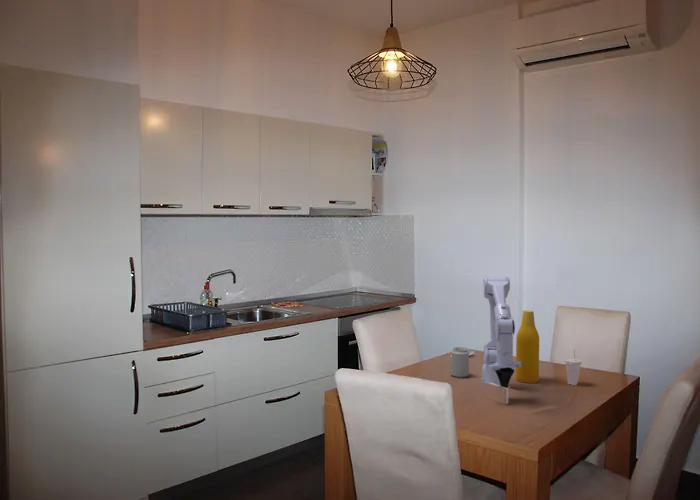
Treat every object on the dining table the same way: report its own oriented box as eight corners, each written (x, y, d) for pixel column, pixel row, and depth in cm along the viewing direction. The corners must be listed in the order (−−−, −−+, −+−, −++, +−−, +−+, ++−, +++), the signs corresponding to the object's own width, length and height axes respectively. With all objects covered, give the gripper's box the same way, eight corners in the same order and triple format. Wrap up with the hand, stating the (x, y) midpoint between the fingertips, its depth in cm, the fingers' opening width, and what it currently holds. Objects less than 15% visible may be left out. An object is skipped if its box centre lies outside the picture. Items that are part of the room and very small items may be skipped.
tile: (486, 399, 213) (487, 383, 212) (490, 398, 214) (490, 382, 213) (504, 405, 205) (504, 389, 205) (508, 405, 206) (508, 388, 205)
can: (456, 372, 252) (456, 345, 251) (472, 375, 247) (472, 347, 246) (447, 376, 246) (448, 348, 245) (463, 379, 241) (463, 351, 241)
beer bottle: (529, 376, 246) (530, 308, 244) (543, 382, 237) (544, 312, 235) (511, 378, 242) (511, 310, 241) (524, 384, 234) (525, 313, 232)
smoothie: (570, 386, 230) (571, 352, 229) (561, 382, 236) (561, 348, 236) (584, 385, 232) (585, 351, 231) (574, 381, 238) (575, 347, 237)
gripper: (497, 356, 204) (497, 393, 205) (527, 351, 211) (526, 388, 212) (483, 352, 210) (483, 388, 211) (513, 347, 217) (512, 383, 218)
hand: (504, 388), depth 212 cm, fingers closed
